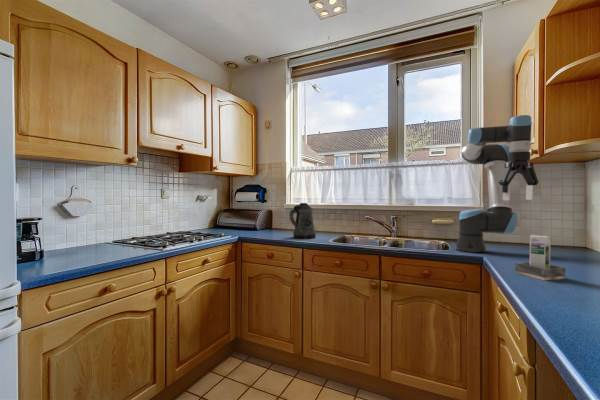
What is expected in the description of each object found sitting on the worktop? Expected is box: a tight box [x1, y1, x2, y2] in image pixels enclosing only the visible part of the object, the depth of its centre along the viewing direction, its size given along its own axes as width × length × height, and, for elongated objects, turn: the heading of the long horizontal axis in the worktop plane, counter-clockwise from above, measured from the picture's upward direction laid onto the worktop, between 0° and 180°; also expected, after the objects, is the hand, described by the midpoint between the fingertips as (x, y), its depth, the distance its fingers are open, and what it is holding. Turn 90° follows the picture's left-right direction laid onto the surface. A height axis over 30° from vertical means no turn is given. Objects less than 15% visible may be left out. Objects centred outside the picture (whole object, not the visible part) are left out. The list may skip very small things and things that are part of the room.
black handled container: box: [289, 202, 317, 240], centre depth 207 cm, size 16×19×25 cm
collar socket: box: [514, 261, 566, 281], centre depth 110 cm, size 11×11×4 cm
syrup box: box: [529, 234, 552, 269], centre depth 110 cm, size 6×6×14 cm
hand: (518, 200), depth 127 cm, fingers open, 13 cm apart
